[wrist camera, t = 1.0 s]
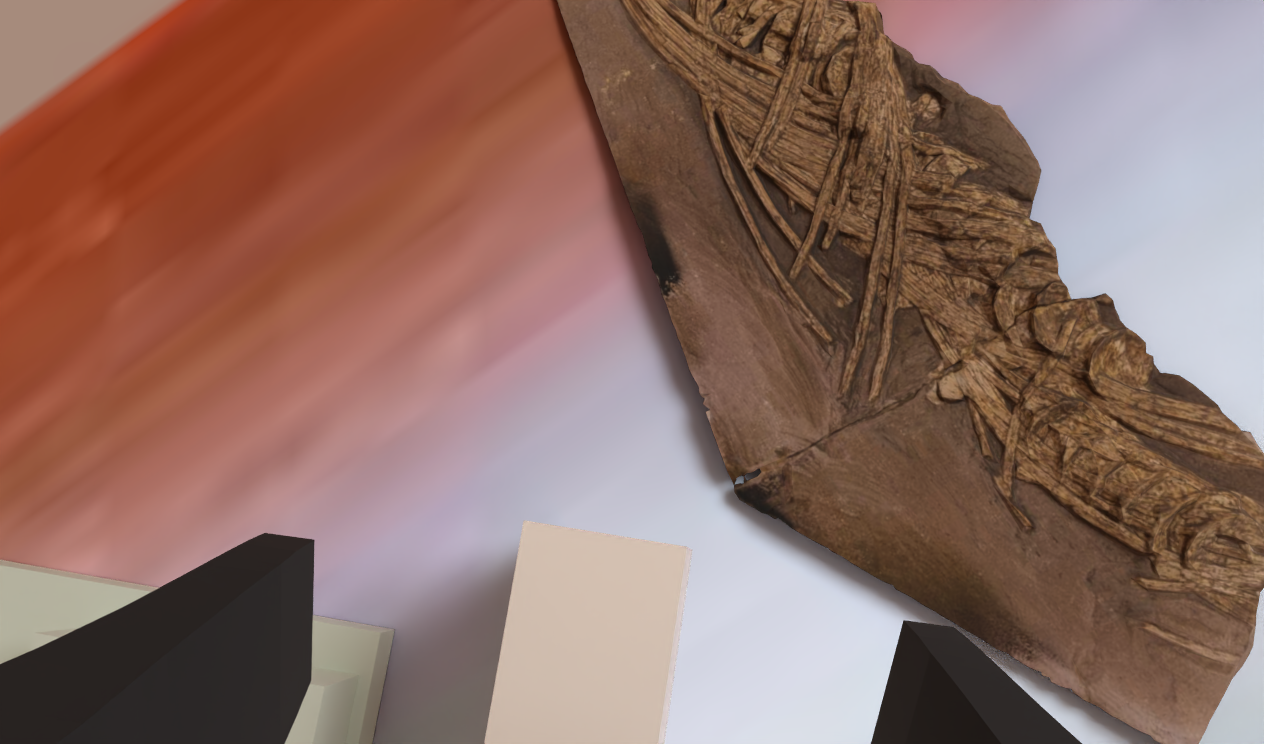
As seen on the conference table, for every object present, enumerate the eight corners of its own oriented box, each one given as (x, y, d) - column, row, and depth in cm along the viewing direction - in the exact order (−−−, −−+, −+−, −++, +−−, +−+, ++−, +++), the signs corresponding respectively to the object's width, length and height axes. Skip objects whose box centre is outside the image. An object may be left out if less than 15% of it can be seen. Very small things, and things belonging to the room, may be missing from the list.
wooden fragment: (1394, 610, 21) (1428, 613, 20) (995, 885, 21) (1010, 901, 20) (750, -179, 27) (751, -208, 26) (422, 27, 26) (410, 6, 25)
